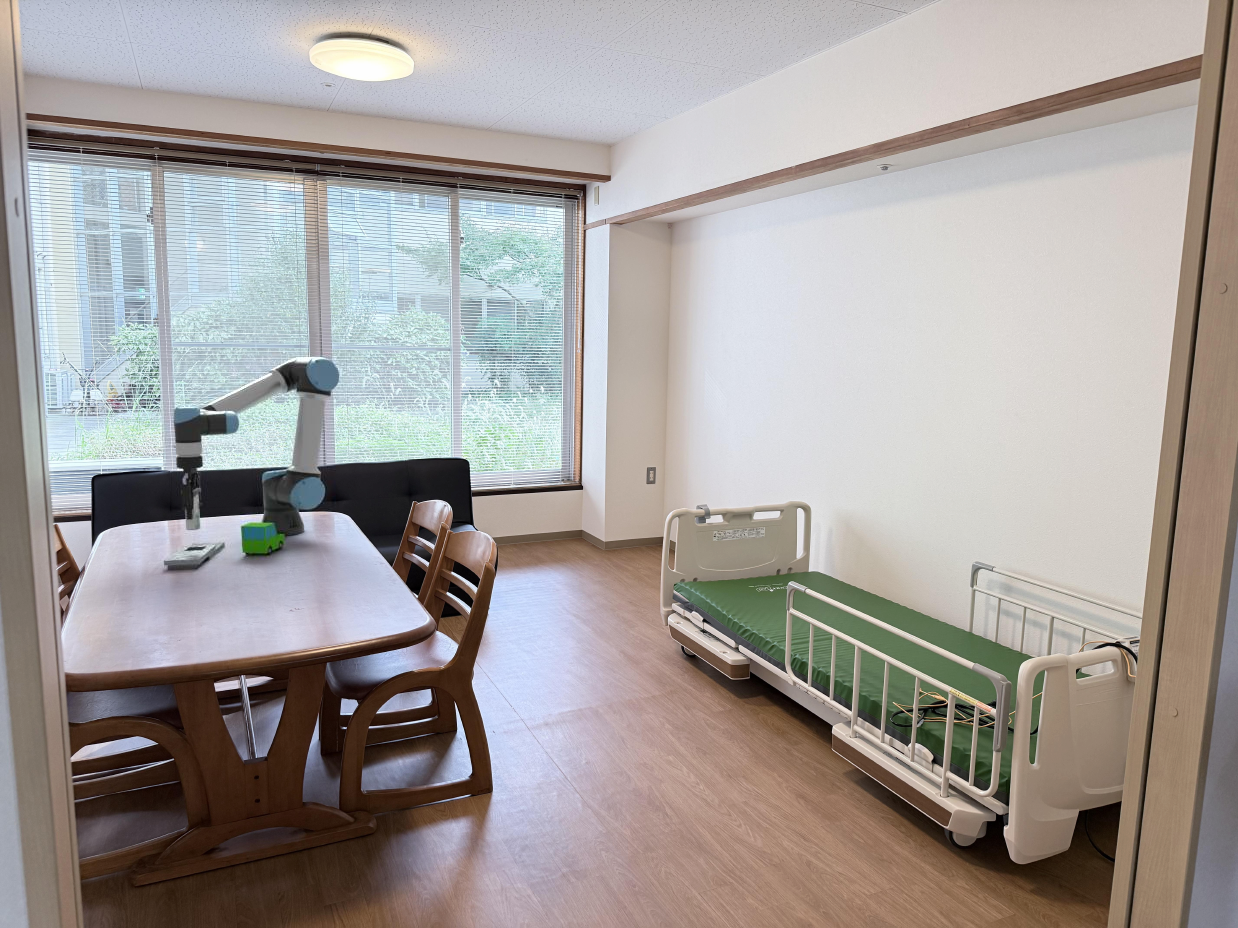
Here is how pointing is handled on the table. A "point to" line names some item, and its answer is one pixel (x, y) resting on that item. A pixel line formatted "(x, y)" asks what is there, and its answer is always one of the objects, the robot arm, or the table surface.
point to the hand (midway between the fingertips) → (193, 527)
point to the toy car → (261, 538)
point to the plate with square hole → (192, 555)
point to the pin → (196, 507)
